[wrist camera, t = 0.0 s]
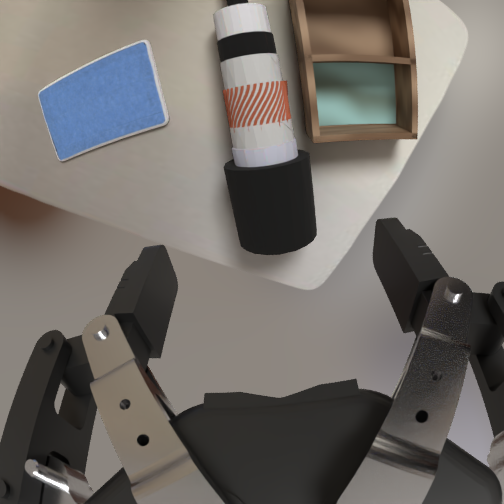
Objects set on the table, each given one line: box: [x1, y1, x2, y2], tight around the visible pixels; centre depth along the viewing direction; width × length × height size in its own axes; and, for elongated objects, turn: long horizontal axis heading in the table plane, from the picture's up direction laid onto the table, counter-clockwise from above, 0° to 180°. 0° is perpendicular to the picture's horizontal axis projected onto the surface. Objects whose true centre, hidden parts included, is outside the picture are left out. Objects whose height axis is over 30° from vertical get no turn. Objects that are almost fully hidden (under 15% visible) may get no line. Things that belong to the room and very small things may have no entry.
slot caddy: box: [289, 0, 418, 143], centre depth 28 cm, size 20×14×5 cm
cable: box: [213, 0, 317, 255], centre depth 30 cm, size 10×34×10 cm, turn 8°
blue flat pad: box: [38, 40, 169, 161], centre depth 33 cm, size 19×13×1 cm, turn 101°
